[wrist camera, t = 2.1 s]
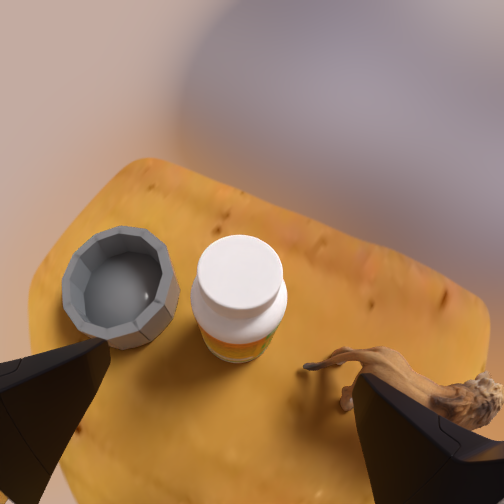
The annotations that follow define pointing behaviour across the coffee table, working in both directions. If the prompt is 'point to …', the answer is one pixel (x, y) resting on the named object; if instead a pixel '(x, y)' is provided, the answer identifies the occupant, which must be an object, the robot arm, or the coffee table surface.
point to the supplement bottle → (238, 297)
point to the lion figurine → (423, 386)
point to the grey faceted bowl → (121, 287)
